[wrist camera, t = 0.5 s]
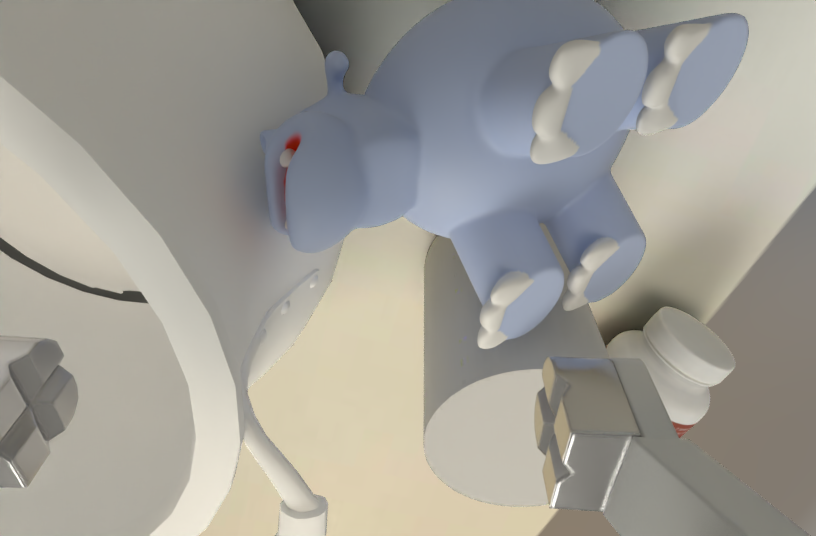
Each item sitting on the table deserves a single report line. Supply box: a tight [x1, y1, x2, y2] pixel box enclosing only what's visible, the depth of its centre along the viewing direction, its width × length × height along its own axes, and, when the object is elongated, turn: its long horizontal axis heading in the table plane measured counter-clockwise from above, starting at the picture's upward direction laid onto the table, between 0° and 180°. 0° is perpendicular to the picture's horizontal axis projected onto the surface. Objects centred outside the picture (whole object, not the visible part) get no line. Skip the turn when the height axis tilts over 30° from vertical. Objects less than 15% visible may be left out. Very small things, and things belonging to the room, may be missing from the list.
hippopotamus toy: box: [260, 0, 749, 349], centre depth 19 cm, size 11×15×10 cm
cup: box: [424, 223, 610, 507], centre depth 27 cm, size 8×8×12 cm
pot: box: [0, 0, 344, 536], centre depth 20 cm, size 28×24×17 cm
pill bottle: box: [606, 307, 735, 438], centre depth 33 cm, size 6×6×11 cm
